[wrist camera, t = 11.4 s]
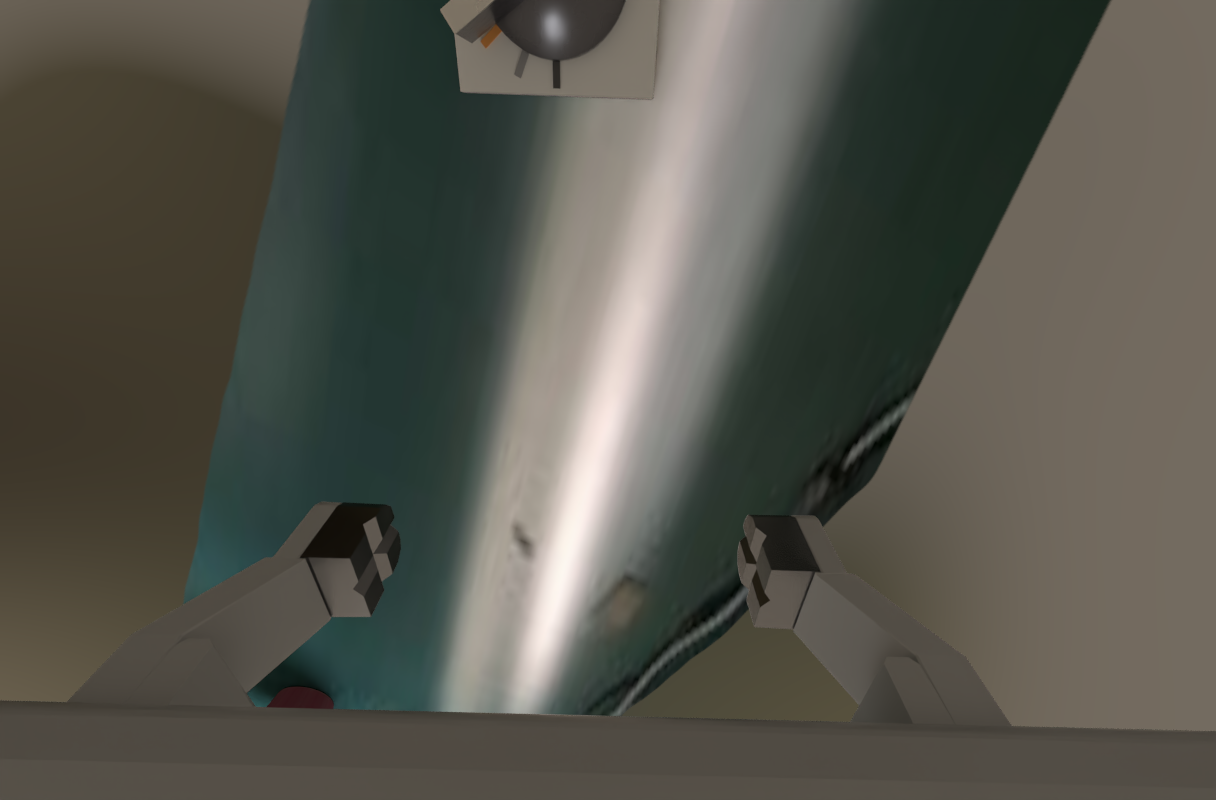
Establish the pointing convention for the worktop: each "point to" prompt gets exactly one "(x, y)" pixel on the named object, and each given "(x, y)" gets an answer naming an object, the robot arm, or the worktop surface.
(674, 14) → the worktop surface
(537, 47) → the dial
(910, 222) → the worktop surface
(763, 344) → the worktop surface
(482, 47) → the dial base
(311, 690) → the plant pot
